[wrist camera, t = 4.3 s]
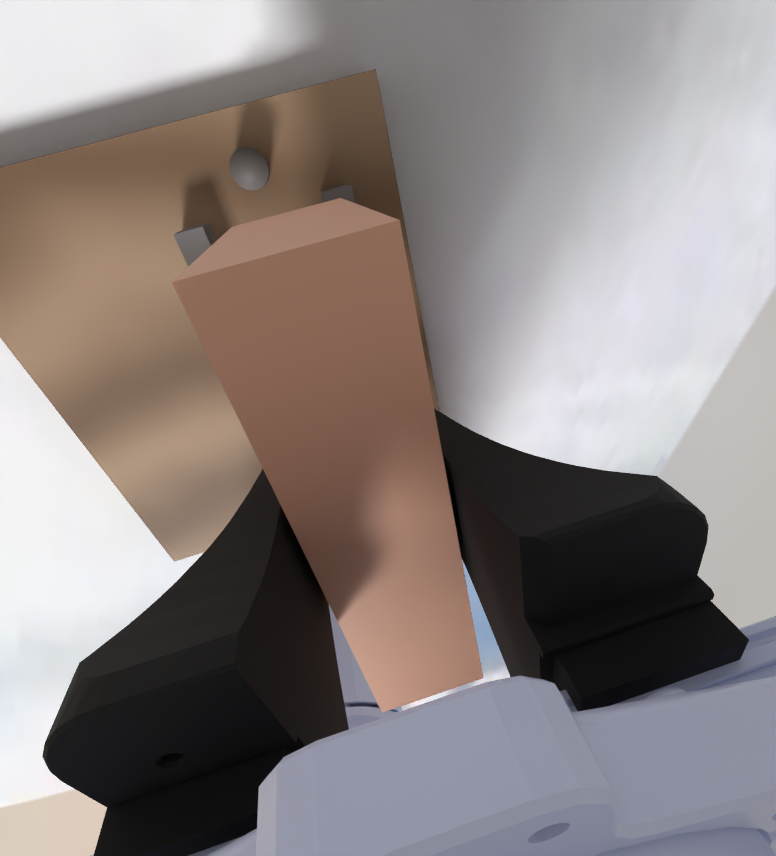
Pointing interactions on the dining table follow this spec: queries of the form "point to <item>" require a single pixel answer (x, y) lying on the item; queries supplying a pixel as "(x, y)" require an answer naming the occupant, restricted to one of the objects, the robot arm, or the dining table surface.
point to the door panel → (344, 429)
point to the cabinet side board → (170, 282)
